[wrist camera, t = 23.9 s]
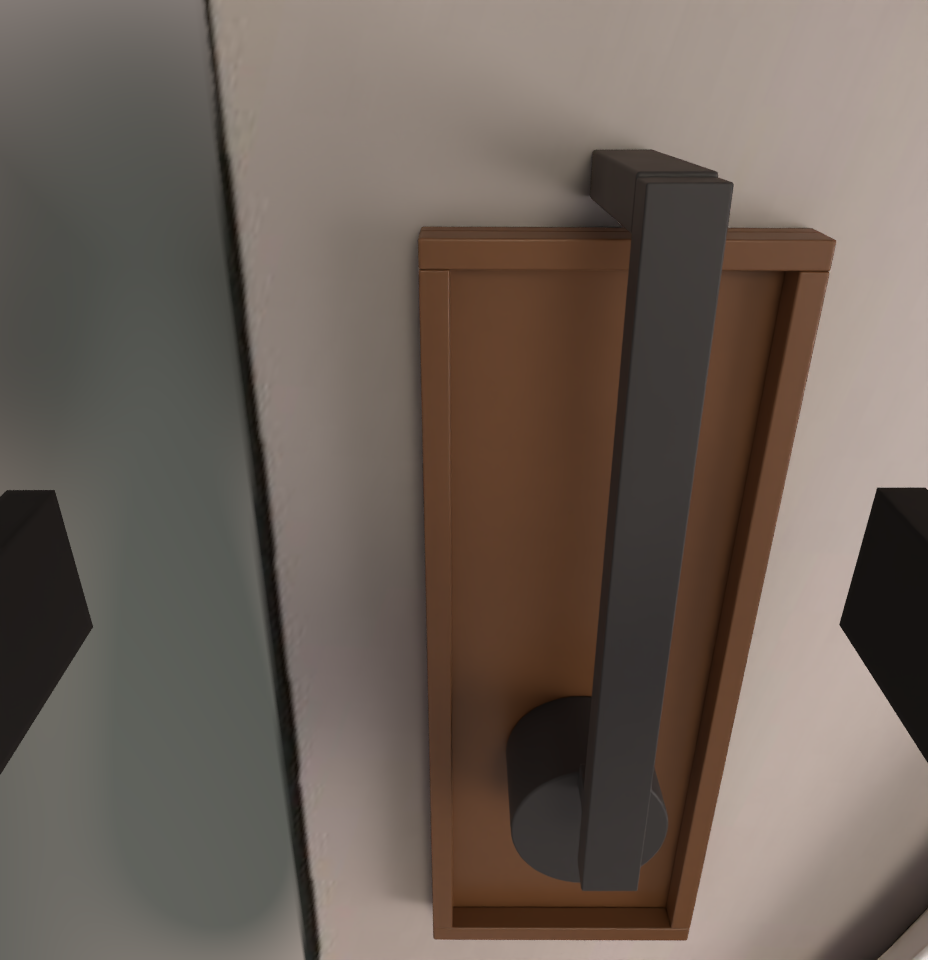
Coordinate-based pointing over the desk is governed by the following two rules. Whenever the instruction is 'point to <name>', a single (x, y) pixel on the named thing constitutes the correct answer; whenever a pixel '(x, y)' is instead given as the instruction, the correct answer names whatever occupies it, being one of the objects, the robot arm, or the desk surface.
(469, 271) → the spoon rest
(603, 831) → the ladle
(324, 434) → the desk surface
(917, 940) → the salad plate
